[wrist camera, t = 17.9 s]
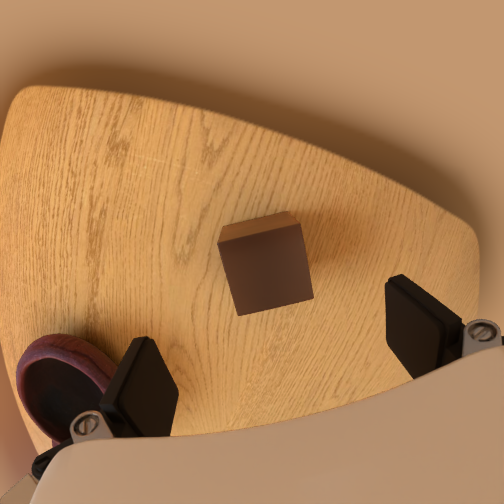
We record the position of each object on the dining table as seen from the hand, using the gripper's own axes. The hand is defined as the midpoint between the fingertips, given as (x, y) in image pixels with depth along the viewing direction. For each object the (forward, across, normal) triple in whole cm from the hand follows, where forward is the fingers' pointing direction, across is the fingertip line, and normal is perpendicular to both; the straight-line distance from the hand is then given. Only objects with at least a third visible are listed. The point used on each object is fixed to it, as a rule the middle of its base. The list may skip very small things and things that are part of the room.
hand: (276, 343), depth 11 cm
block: (+12, 0, 0) cm, 12 cm away
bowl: (+13, +20, +10) cm, 26 cm away
